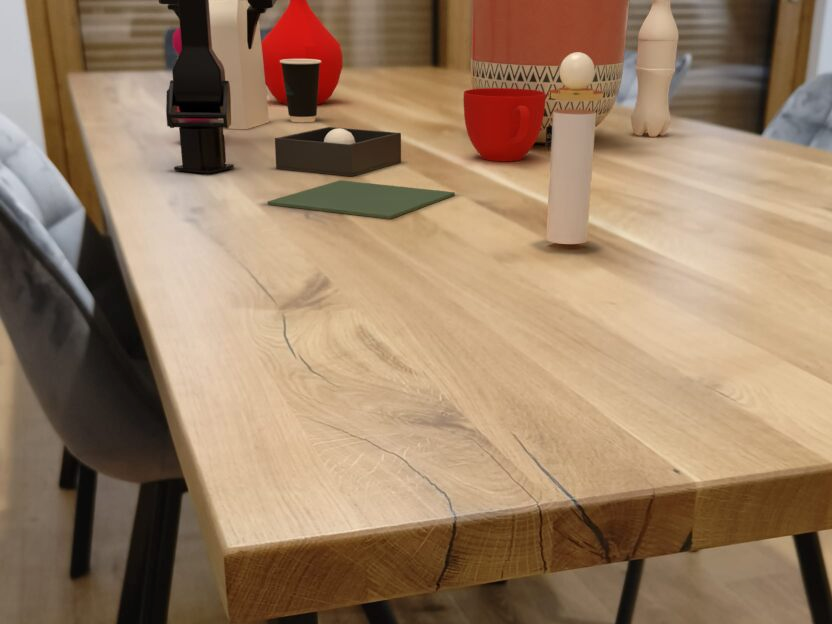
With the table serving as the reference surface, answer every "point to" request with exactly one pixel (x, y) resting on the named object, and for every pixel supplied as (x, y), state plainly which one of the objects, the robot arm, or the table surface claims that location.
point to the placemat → (362, 199)
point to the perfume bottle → (571, 154)
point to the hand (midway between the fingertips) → (223, 47)
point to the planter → (548, 48)
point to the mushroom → (339, 136)
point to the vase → (301, 50)
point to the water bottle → (655, 70)
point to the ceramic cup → (503, 121)
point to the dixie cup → (301, 88)
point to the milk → (239, 62)
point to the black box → (338, 152)
